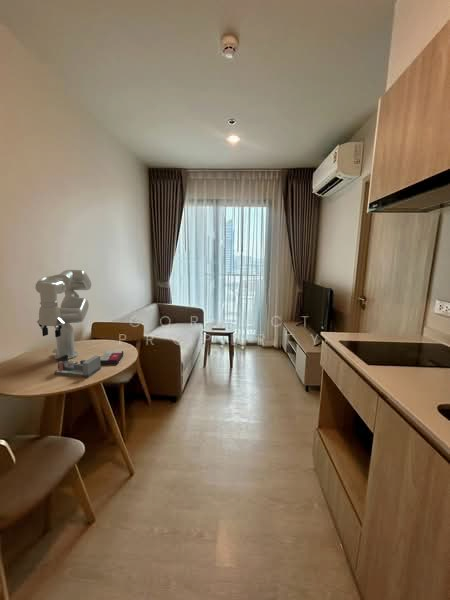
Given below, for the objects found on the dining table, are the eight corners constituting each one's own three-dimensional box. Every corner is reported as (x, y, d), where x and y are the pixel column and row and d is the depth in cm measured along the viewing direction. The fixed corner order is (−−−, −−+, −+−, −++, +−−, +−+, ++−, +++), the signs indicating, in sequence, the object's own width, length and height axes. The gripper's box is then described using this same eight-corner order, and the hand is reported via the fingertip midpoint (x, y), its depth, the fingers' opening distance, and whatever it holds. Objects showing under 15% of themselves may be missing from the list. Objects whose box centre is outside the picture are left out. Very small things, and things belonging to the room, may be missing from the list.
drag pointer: (59, 371, 141) (58, 362, 140) (61, 369, 142) (60, 361, 141) (60, 371, 140) (60, 362, 140) (63, 370, 142) (62, 361, 141)
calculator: (98, 360, 154) (105, 349, 168) (98, 366, 155) (106, 356, 169) (117, 359, 155) (123, 349, 170) (117, 366, 156) (123, 355, 171)
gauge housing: (54, 374, 141) (53, 360, 140) (69, 365, 152) (68, 353, 151) (88, 377, 139) (87, 363, 137) (100, 369, 149) (100, 355, 148)
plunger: (54, 370, 141) (53, 360, 140) (65, 364, 149) (65, 354, 148) (68, 372, 140) (68, 361, 139) (79, 365, 148) (78, 355, 147)
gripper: (29, 305, 138) (32, 336, 141) (58, 306, 136) (60, 339, 139) (40, 302, 146) (43, 332, 149) (68, 304, 144) (70, 335, 147)
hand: (51, 335), depth 144 cm, fingers open, 7 cm apart
